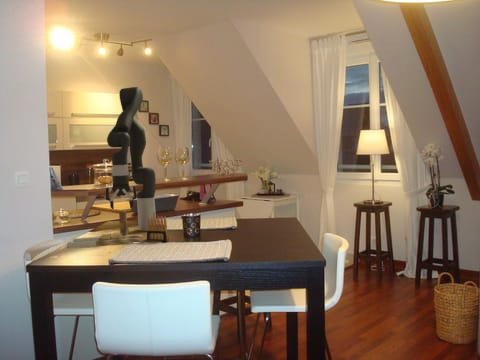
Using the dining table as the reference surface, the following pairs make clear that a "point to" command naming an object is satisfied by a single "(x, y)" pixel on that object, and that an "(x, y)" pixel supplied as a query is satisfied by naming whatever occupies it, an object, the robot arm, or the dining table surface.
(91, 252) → the dining table surface
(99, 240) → the slot channel
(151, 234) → the ammunition clip
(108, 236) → the chip
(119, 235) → the chip
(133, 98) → the robot arm
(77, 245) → the tray
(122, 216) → the rake tool
